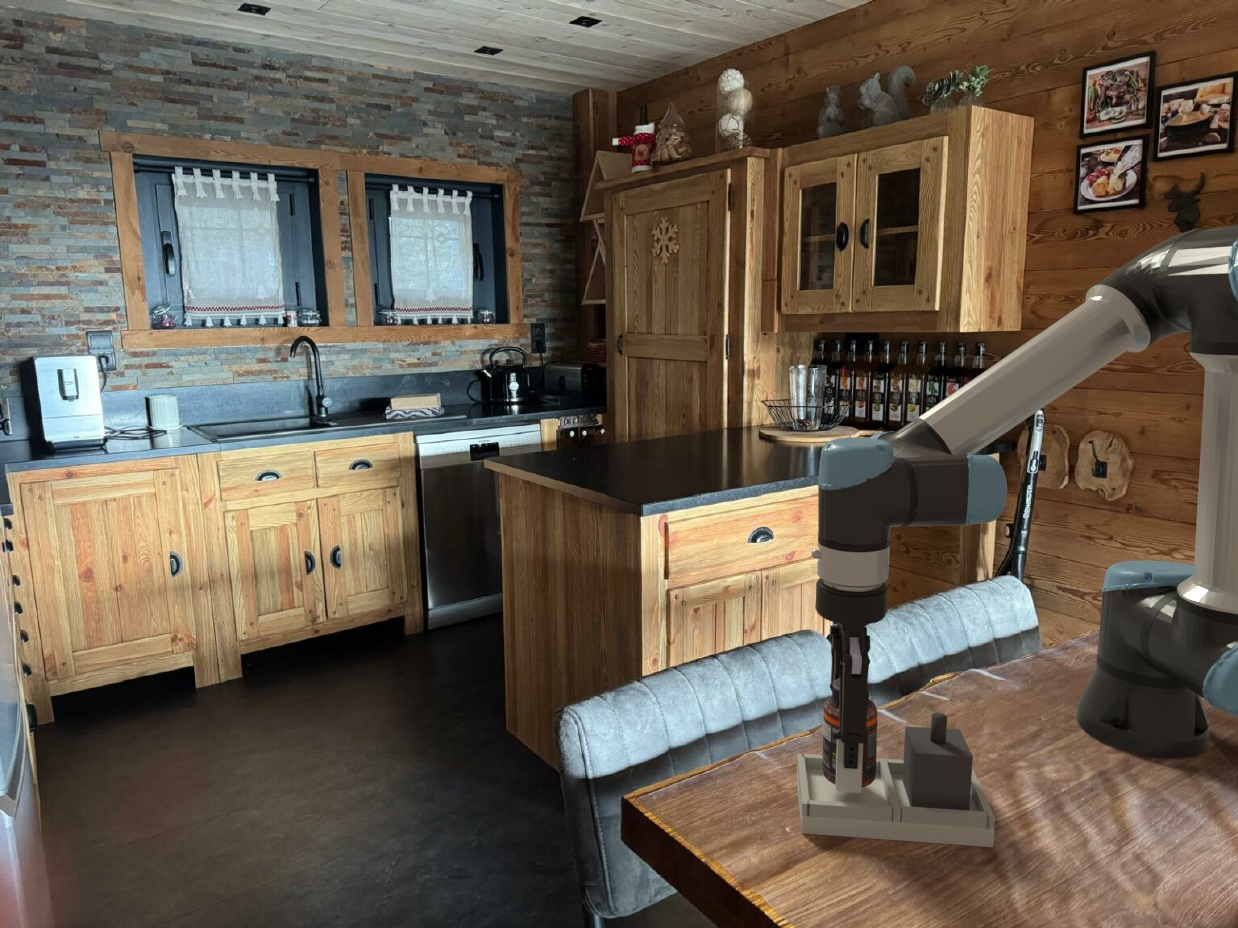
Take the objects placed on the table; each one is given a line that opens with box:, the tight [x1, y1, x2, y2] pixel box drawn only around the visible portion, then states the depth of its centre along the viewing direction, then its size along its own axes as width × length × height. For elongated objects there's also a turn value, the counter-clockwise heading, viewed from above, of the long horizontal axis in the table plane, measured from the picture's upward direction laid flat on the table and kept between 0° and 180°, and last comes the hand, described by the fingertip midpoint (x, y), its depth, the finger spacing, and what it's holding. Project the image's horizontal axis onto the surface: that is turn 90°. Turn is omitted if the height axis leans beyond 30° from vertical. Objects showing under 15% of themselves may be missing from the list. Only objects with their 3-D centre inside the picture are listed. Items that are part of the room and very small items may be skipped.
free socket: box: [796, 753, 892, 822], centre depth 100 cm, size 10×11×2 cm
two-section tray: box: [796, 757, 996, 848], centre depth 99 cm, size 20×11×4 cm, turn 82°
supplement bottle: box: [822, 679, 878, 788], centre depth 98 cm, size 6×6×11 cm
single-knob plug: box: [903, 712, 974, 811], centre depth 97 cm, size 6×6×10 cm
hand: (845, 773), depth 99 cm, fingers closed on supplement bottle, 6 cm apart
